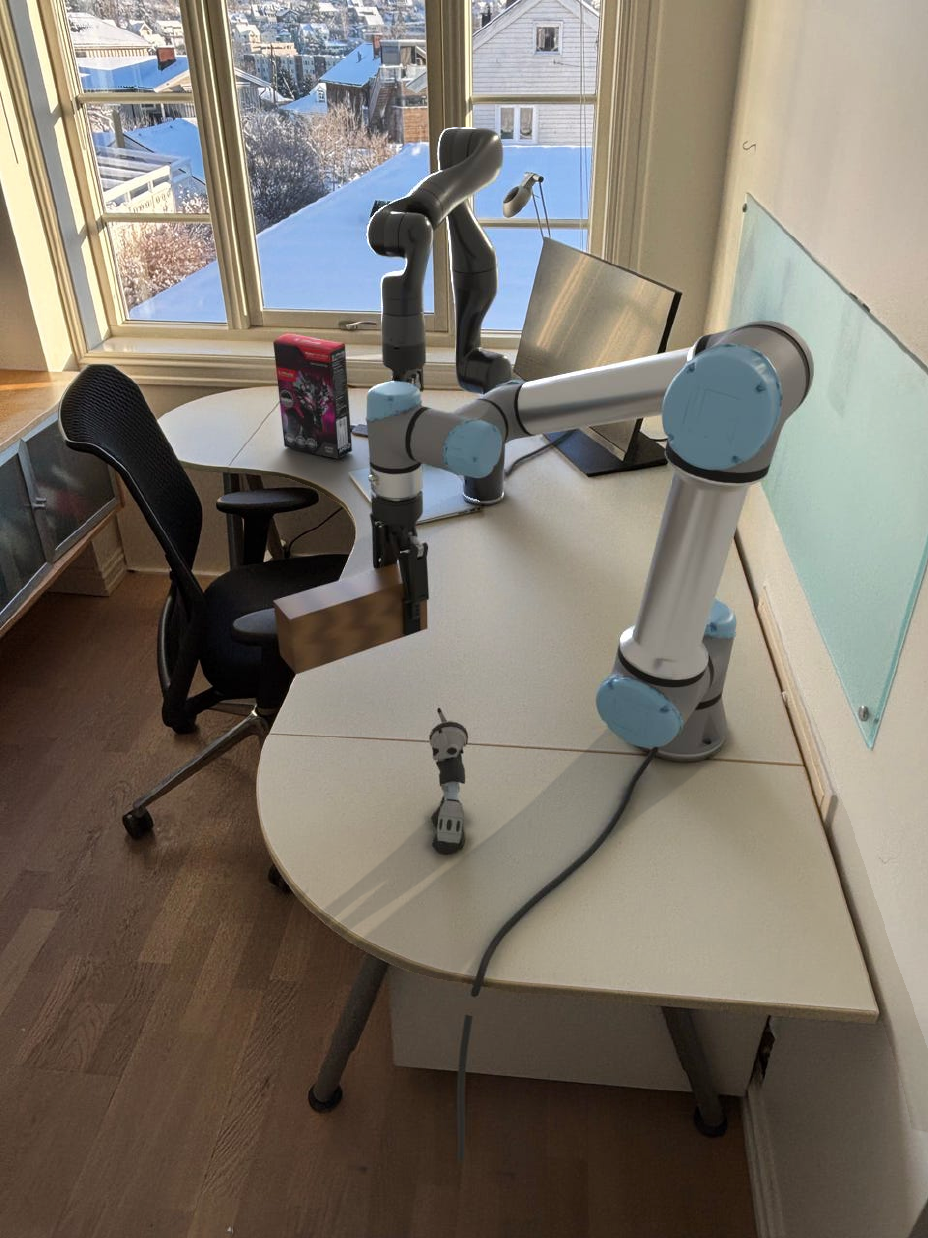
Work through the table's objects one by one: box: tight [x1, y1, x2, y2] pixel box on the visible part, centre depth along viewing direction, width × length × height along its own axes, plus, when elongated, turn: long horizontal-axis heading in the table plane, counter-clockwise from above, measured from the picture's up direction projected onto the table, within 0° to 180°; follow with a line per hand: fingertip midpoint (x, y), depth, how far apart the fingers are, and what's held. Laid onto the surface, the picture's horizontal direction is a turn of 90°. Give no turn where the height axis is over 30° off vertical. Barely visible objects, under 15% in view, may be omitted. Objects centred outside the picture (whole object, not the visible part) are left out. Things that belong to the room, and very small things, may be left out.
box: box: [273, 561, 428, 675], centre depth 141 cm, size 23×6×10 cm, turn 123°
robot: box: [428, 707, 469, 855], centre depth 120 cm, size 20×5×20 cm, turn 3°
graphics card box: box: [272, 332, 353, 460], centre depth 223 cm, size 17×7×27 cm, turn 62°
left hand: (406, 426), depth 167 cm, fingers open, 8 cm apart
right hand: (401, 622), depth 147 cm, fingers closed on box, 6 cm apart
